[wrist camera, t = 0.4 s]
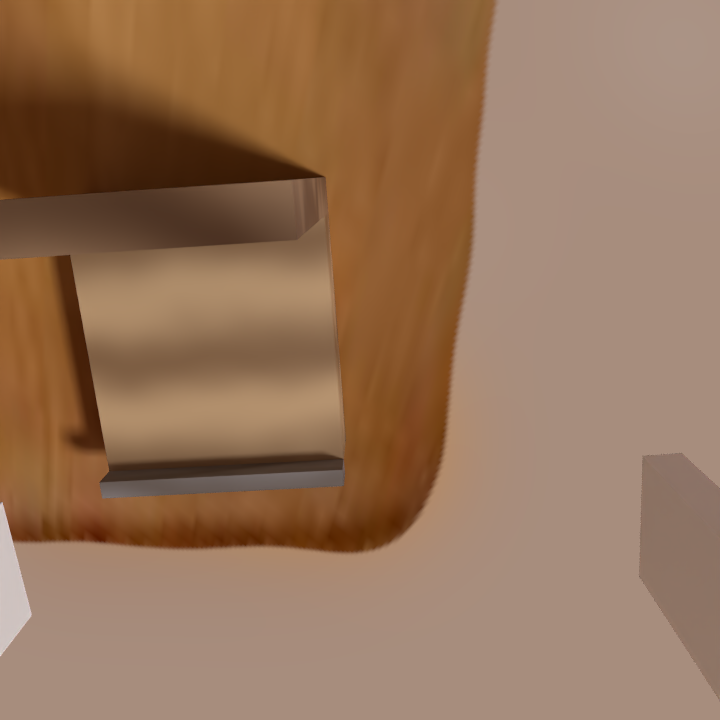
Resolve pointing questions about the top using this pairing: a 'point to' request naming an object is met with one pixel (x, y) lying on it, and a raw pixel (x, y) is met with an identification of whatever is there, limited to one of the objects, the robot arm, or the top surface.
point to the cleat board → (202, 330)
